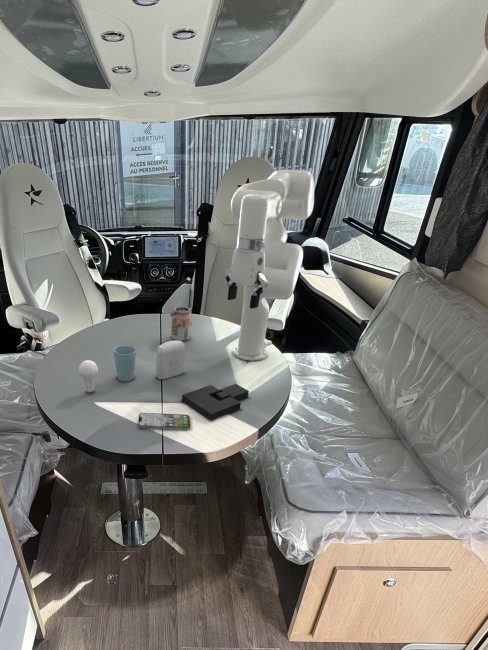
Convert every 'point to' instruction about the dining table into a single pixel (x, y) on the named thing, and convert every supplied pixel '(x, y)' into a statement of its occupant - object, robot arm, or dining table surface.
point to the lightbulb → (88, 374)
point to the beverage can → (181, 324)
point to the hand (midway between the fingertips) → (242, 303)
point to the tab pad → (232, 393)
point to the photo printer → (170, 359)
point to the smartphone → (164, 421)
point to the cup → (125, 362)
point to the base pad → (210, 403)
